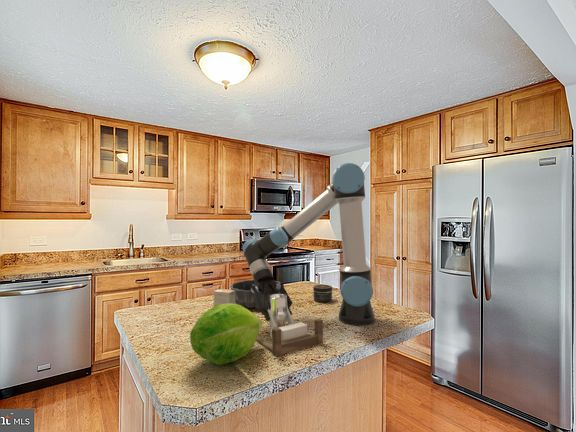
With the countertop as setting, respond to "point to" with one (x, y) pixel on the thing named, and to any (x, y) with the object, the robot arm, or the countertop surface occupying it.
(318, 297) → the jar
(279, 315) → the beer glass
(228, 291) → the supplement box
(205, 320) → the lettuce
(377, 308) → the countertop surface
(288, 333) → the offcut upper
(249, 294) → the bundt pan
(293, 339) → the offcut lower
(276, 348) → the rack
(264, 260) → the robot arm
